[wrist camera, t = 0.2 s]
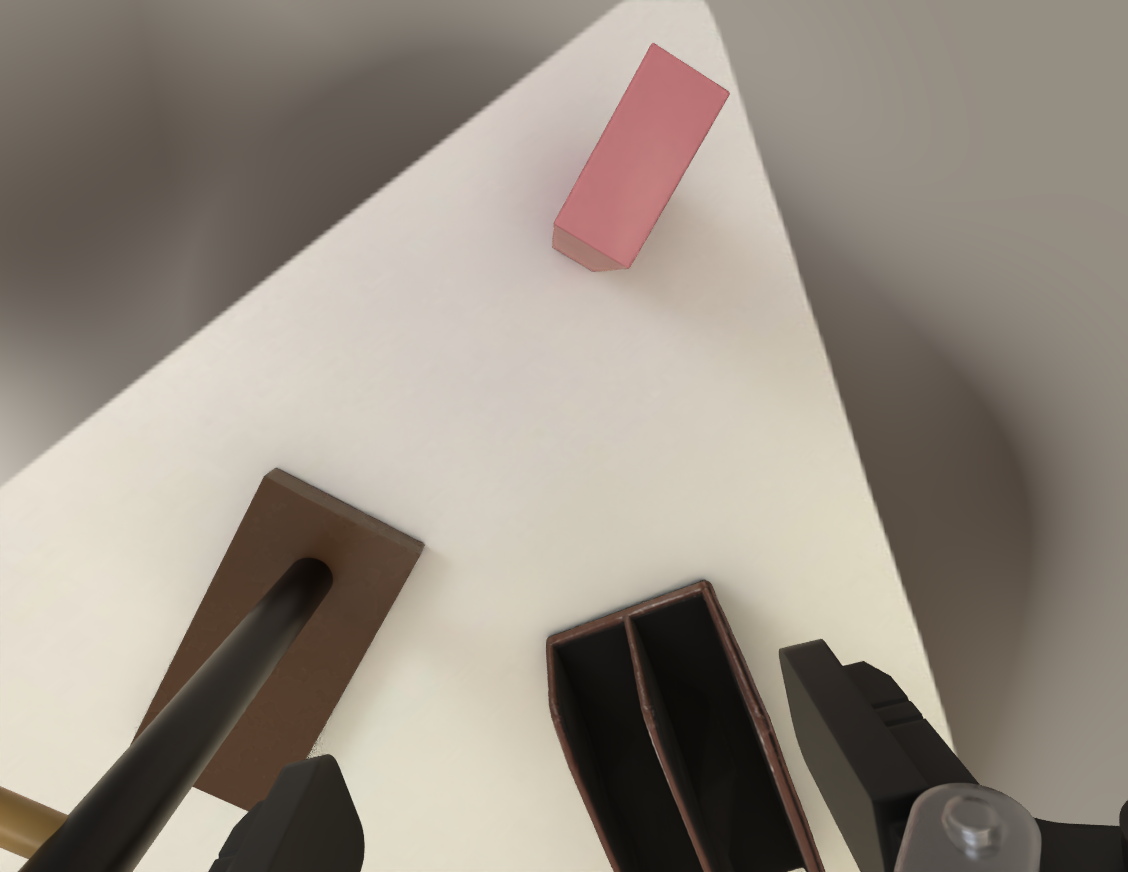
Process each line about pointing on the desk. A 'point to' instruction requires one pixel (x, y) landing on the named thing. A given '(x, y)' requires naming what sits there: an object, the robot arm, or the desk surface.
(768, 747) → the letter holder
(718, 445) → the desk surface
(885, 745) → the robot arm
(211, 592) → the stand
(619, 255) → the pink block with hole
